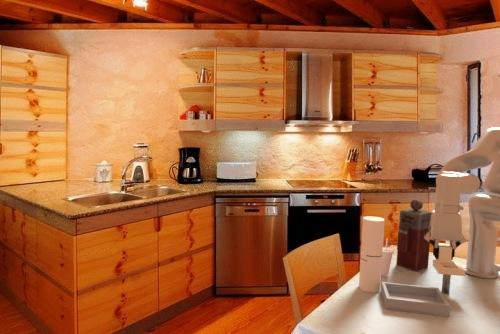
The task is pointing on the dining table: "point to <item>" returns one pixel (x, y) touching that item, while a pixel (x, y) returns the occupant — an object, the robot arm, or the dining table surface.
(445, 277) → the post
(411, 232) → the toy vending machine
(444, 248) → the beige stepped block
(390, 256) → the smoothie
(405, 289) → the tray
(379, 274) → the cylindrical container
